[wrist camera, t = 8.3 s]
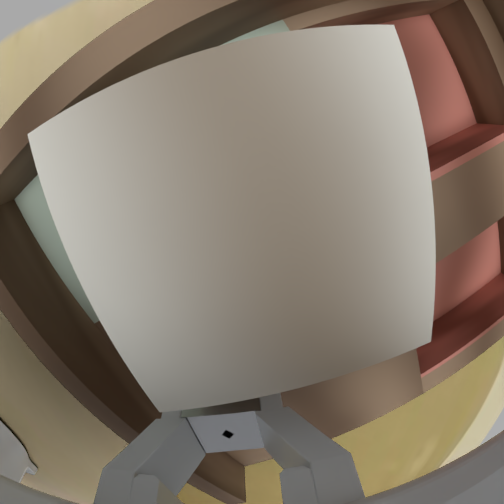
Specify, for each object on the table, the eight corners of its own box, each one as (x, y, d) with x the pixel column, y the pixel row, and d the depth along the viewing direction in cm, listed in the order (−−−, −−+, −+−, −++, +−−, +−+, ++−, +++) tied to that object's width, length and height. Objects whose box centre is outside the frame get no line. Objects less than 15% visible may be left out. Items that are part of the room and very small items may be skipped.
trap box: (229, 431, 17) (229, 505, 11) (33, 179, 10) (-53, 209, 5) (519, 273, 14) (572, 312, 9) (441, -12, 8) (507, -44, 2)
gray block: (191, 287, 9) (159, 412, 5) (137, 132, 8) (27, 134, 3) (345, 245, 9) (430, 341, 4) (309, 83, 7) (393, 24, 3)
